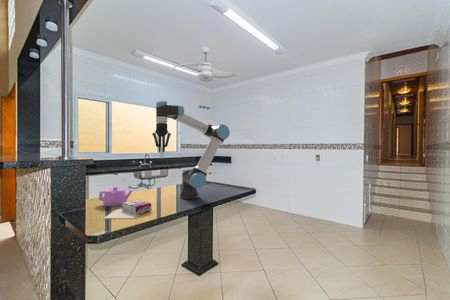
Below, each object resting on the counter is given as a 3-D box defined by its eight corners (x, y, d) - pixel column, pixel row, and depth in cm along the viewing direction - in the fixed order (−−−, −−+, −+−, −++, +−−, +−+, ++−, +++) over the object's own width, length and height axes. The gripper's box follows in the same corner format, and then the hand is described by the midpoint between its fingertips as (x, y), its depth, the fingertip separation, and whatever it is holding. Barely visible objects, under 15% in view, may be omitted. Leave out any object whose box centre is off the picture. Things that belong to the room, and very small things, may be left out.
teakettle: (96, 205, 158) (96, 187, 158) (118, 200, 173) (118, 184, 173) (112, 208, 150) (112, 190, 150) (133, 202, 165) (133, 186, 165)
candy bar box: (151, 210, 144) (137, 206, 154) (151, 203, 144) (137, 199, 154) (135, 215, 135) (122, 209, 145) (135, 207, 135) (121, 202, 145)
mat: (145, 209, 148) (145, 209, 148) (134, 218, 130) (134, 218, 130) (117, 209, 147) (117, 209, 147) (103, 218, 129) (103, 218, 129)
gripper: (172, 123, 161) (172, 156, 162) (154, 123, 161) (154, 156, 161) (169, 122, 154) (169, 157, 154) (150, 122, 153) (150, 157, 154)
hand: (161, 156), depth 158 cm, fingers closed
